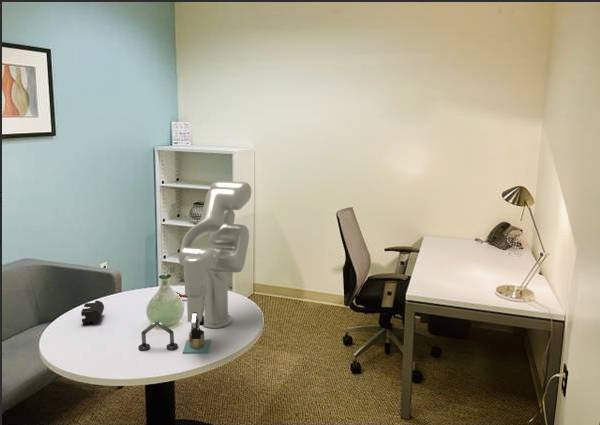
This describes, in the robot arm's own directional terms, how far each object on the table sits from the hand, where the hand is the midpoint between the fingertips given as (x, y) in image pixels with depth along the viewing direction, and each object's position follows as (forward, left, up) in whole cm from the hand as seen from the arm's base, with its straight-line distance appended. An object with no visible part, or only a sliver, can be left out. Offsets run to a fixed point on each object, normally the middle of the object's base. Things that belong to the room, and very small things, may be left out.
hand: (198, 331), depth 175 cm
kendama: (-42, -13, -6) cm, 44 cm away
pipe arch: (+1, -14, -6) cm, 15 cm away
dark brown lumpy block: (-23, -45, -6) cm, 51 cm away
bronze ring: (+1, 0, -5) cm, 5 cm away
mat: (+1, 0, -6) cm, 6 cm away
